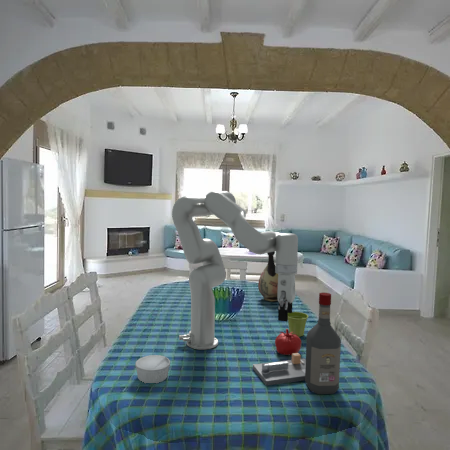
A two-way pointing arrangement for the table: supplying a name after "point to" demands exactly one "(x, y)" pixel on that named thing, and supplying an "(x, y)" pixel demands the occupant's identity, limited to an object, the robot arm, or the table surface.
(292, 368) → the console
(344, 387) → the table surface
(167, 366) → the ramekin
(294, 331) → the plant pot
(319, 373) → the liquor
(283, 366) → the silver metal bar
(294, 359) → the fader knob
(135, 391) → the table surface
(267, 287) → the ceramic jug
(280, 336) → the pomegranate
